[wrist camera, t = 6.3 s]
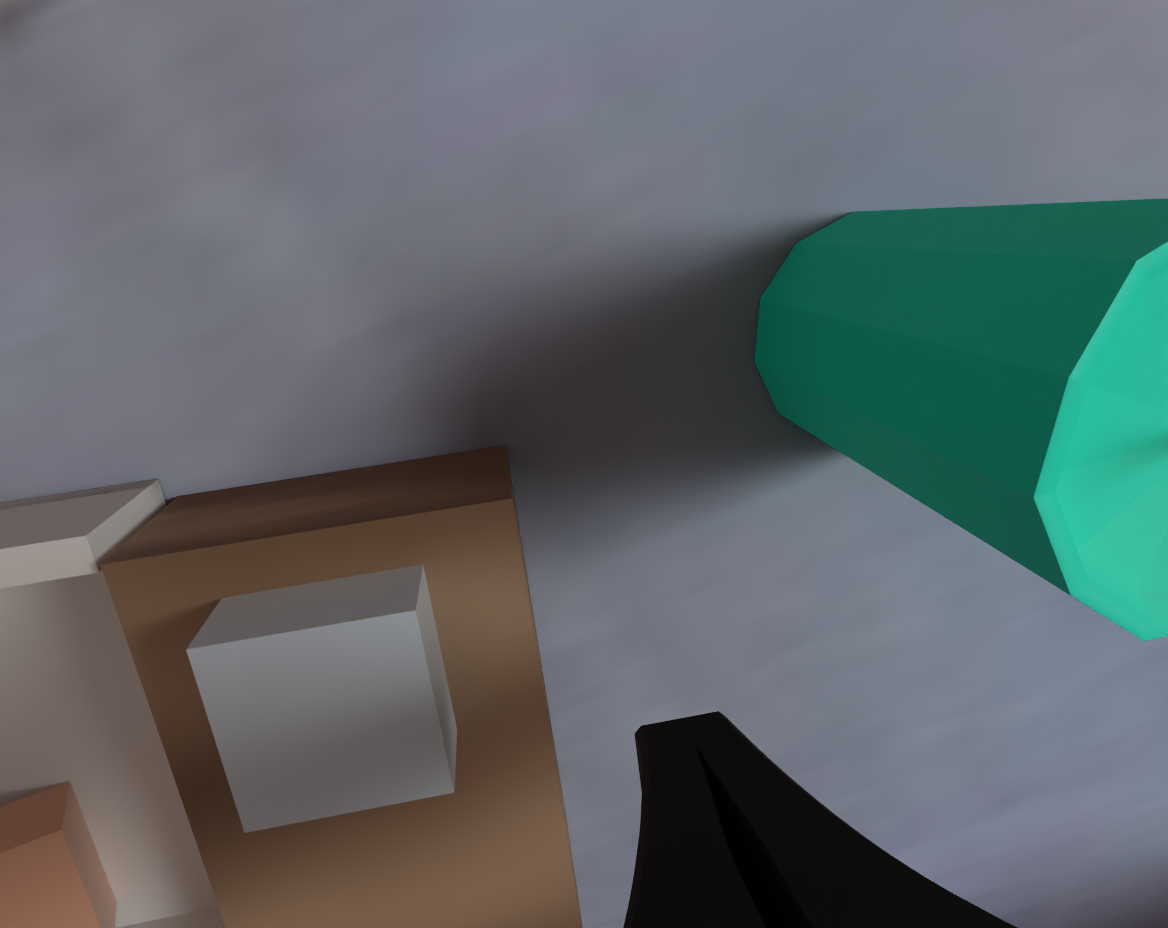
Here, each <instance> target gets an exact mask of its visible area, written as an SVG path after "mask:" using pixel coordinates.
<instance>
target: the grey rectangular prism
mask: <svg viewBox="0 0 1168 928" xmlns="http://www.w3.org/2000/svg"><path fill="white" fill-rule="evenodd" d="M186 651H187V654H188V657H189V660H190V663H191V667H192V670H193V673H194V676H195V679H196V682H197V685H198V689H199V692H200V695H201V698H202V701H203V704H204V707H205V710H206V714H207V717H208V720H209V723H210V726H211V729H212V732H213V736H214V739H215V742H216V745H217V748H218V751H219V754H220V757H221V761H222V764H223V767H224V770H225V773H226V776H227V779H228V783H229V786H230V789H231V792H232V795H233V798H234V801H235V804H236V808H237V811H238V814H239V817H240V820H241V823H242V826H243V829H244V833H247V832H252V831H257V830H263V829H268V828H273V827H278V826H283V825H289V824H294V823H299V822H304V821H309V820H315V819H320V818H325V817H330V816H335V815H341V814H346V813H351V812H356V811H361V810H367V809H372V808H377V807H382V806H387V805H393V804H398V803H403V802H408V801H413V800H419V799H424V798H429V797H434V796H439V795H445V794H450V793H454V790H455V767H456V744H457V727H456V722H455V717H454V712H453V707H452V702H451V697H450V693H449V688H448V683H447V678H446V673H445V668H444V663H443V659H442V654H441V649H440V644H439V639H438V634H437V629H436V624H435V620H434V615H433V610H432V605H431V600H430V595H429V590H428V586H427V581H426V576H425V571H424V566H423V565H417V566H411V567H405V568H399V569H393V570H387V571H381V572H375V573H369V574H363V575H357V576H351V577H345V578H339V579H333V580H327V581H321V582H315V583H309V584H303V585H297V586H291V587H285V588H279V589H273V590H267V591H261V592H255V593H249V594H243V595H237V596H231V597H225V598H222V599H221V600H220V602H219V603H218V604H217V606H216V607H215V609H214V610H213V612H212V613H211V614H210V616H209V617H208V619H207V620H206V622H205V623H204V625H203V626H202V627H201V629H200V630H199V632H198V633H197V635H196V636H195V638H194V639H193V640H192V642H191V643H190V645H189V646H188V648H187V649H186Z"/></svg>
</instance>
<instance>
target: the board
mask: <svg viewBox="0 0 1168 928" xmlns="http://www.w3.org/2000/svg"><path fill="white" fill-rule="evenodd" d="M417 565H423V566H424V571H425V576H426V581H427V586H428V590H429V595H430V600H431V605H432V610H433V615H434V620H435V624H436V629H437V634H438V639H439V644H440V649H441V654H442V659H443V663H444V668H445V673H446V678H447V683H448V688H449V693H450V697H451V702H452V707H453V712H454V717H455V722H456V727H457V744H456V767H455V790H454V793H450V794H445V795H439V796H434V797H429V798H424V799H419V800H413V801H408V802H403V803H398V804H393V805H387V806H382V807H377V808H372V809H367V810H361V811H356V812H351V813H346V814H341V815H335V816H330V817H325V818H320V819H315V820H309V821H304V822H299V823H294V824H289V825H283V826H278V827H273V828H268V829H263V830H257V831H252V832H247V833H244V829H243V826H242V823H241V820H240V817H239V814H238V811H237V808H236V804H235V801H234V798H233V795H232V792H231V789H230V786H229V783H228V779H227V776H226V773H225V770H224V767H223V764H222V761H221V757H220V754H219V751H218V748H217V745H216V742H215V739H214V736H213V732H212V729H211V726H210V723H209V720H208V717H207V714H206V710H205V707H204V704H203V701H202V698H201V695H200V692H199V689H198V685H197V682H196V679H195V676H194V673H193V670H192V667H191V663H190V660H189V657H188V654H187V651H186V649H187V648H188V646H189V645H190V643H191V642H192V640H193V639H194V638H195V636H196V635H197V633H198V632H199V630H200V629H201V627H202V626H203V625H204V623H205V622H206V620H207V619H208V617H209V616H210V614H211V613H212V612H213V610H214V609H215V607H216V606H217V604H218V603H219V602H220V600H221V599H222V598H225V597H231V596H237V595H243V594H249V593H255V592H261V591H267V590H273V589H279V588H285V587H291V586H297V585H303V584H309V583H315V582H321V581H327V580H333V579H339V578H345V577H351V576H357V575H363V574H369V573H375V572H381V571H387V570H393V569H399V568H405V567H411V566H417ZM101 567H102V570H103V573H104V576H105V579H106V582H107V585H108V588H109V591H110V594H111V596H112V599H113V602H114V605H115V608H116V611H117V614H118V617H119V620H120V623H121V625H122V628H123V631H124V634H125V637H126V640H127V643H128V646H129V649H130V652H131V655H132V657H133V660H134V663H135V666H136V669H137V672H138V675H139V678H140V681H141V684H142V686H143V689H144V692H145V695H146V698H147V701H148V704H149V707H150V710H151V713H152V715H153V718H154V721H155V724H156V727H157V730H158V733H159V736H160V739H161V742H162V745H163V747H164V750H165V753H166V756H167V759H168V762H169V765H170V768H171V771H172V774H173V776H174V779H175V782H176V785H177V788H178V791H179V794H180V797H181V800H182V803H183V806H184V808H185V811H186V814H187V817H188V820H189V823H190V826H191V829H192V832H193V835H194V837H195V840H196V843H197V846H198V849H199V852H200V855H201V858H202V861H203V864H204V866H205V869H206V872H207V875H208V878H209V881H210V884H211V887H212V890H213V893H214V896H215V898H216V901H217V904H218V907H219V910H220V913H221V916H222V919H223V922H224V925H225V927H226V928H582V921H581V914H580V908H579V901H578V894H577V887H576V881H575V874H574V867H573V860H572V854H571V847H570V840H569V833H568V827H567V821H566V814H565V808H564V802H563V796H562V790H561V783H560V777H559V771H558V765H557V759H556V753H555V746H554V740H553V734H552V728H551V722H550V715H549V709H548V703H547V697H546V691H545V684H544V678H543V672H542V666H541V660H540V653H539V647H538V641H537V635H536V629H535V622H534V616H533V610H532V604H531V598H530V591H529V585H528V579H527V573H526V567H525V561H524V554H523V548H522V542H521V536H520V530H519V523H518V517H517V511H516V505H515V499H514V492H513V486H512V480H511V474H510V468H509V461H508V455H507V449H506V446H500V447H494V448H488V449H481V450H475V451H468V452H462V453H455V454H449V455H442V456H436V457H429V458H423V459H417V460H410V461H404V462H397V463H391V464H384V465H378V466H371V467H365V468H358V469H352V470H346V471H339V472H333V473H326V474H320V475H313V476H307V477H300V478H294V479H287V480H281V481H275V482H268V483H262V484H255V485H249V486H242V487H236V488H229V489H223V490H216V491H210V492H204V493H197V494H191V495H184V496H178V497H176V498H175V499H174V500H173V501H172V502H170V503H169V504H168V505H167V506H166V507H165V508H164V509H163V510H161V511H160V512H159V513H158V514H157V515H156V516H155V517H154V518H152V519H151V520H150V521H149V522H148V523H147V524H146V525H145V526H143V527H142V528H141V529H140V530H139V531H138V532H137V533H136V534H134V535H133V536H132V537H131V538H130V539H129V540H128V541H127V542H126V543H124V544H123V545H122V546H121V547H120V548H119V549H118V550H117V551H115V552H114V553H113V554H112V555H111V556H110V557H109V558H108V559H106V560H105V561H104V562H103V563H102V564H101Z"/></svg>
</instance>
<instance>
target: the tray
mask: <svg viewBox="0 0 1168 928" xmlns="http://www.w3.org/2000/svg"><path fill="white" fill-rule="evenodd" d="M165 507H166V503H165V499H164V496H163V493H162V490H161V486H160V483H159V480H158V479H156V480H149V481H143V482H136V483H130V484H123V485H117V486H110V487H103V488H97V489H90V490H84V491H77V492H71V493H64V494H58V495H51V496H45V497H38V498H31V499H25V500H18V501H12V502H5V503H0V806H3V805H5V804H8V803H11V802H14V801H17V800H19V799H22V798H25V797H28V796H31V795H33V794H36V793H39V792H42V791H45V790H47V789H50V788H53V787H56V786H59V785H61V784H64V783H67V782H70V783H71V785H72V788H73V791H74V793H75V796H76V798H77V801H78V803H79V806H80V809H81V811H82V814H83V816H84V819H85V821H86V824H87V827H88V829H89V832H90V834H91V837H92V839H93V842H94V845H95V847H96V850H97V852H98V855H99V858H100V860H101V863H102V865H103V868H104V870H105V873H106V876H107V878H108V881H109V883H110V886H111V888H112V891H113V894H114V896H115V899H116V901H117V908H116V922H115V928H226V927H225V925H224V922H223V919H222V916H221V913H220V910H219V907H218V904H217V901H216V898H215V896H214V893H213V890H212V887H211V884H210V881H209V878H208V875H207V872H206V869H205V866H204V864H203V861H202V858H201V855H200V852H199V849H198V846H197V843H196V840H195V837H194V835H193V832H192V829H191V826H190V823H189V820H188V817H187V814H186V811H185V808H184V806H183V803H182V800H181V797H180V794H179V791H178V788H177V785H176V782H175V779H174V776H173V774H172V771H171V768H170V765H169V762H168V759H167V756H166V753H165V750H164V747H163V745H162V742H161V739H160V736H159V733H158V730H157V727H156V724H155V721H154V718H153V715H152V713H151V710H150V707H149V704H148V701H147V698H146V695H145V692H144V689H143V686H142V684H141V681H140V678H139V675H138V672H137V669H136V666H135V663H134V660H133V657H132V655H131V652H130V649H129V646H128V643H127V640H126V637H125V634H124V631H123V628H122V625H121V623H120V620H119V617H118V614H117V611H116V608H115V605H114V602H113V599H112V596H111V594H110V591H109V588H108V585H107V582H106V579H105V576H104V573H103V570H102V567H101V564H102V563H103V562H104V561H105V560H106V559H108V558H109V557H110V556H111V555H112V554H113V553H114V552H115V551H117V550H118V549H119V548H120V547H121V546H122V545H123V544H124V543H126V542H127V541H128V540H129V539H130V538H131V537H132V536H133V535H134V534H136V533H137V532H138V531H139V530H140V529H141V528H142V527H143V526H145V525H146V524H147V523H148V522H149V521H150V520H151V519H152V518H154V517H155V516H156V515H157V514H158V513H159V512H160V511H161V510H163V509H164V508H165Z"/></svg>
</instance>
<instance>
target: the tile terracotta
mask: <svg viewBox="0 0 1168 928" xmlns="http://www.w3.org/2000/svg"><path fill="white" fill-rule="evenodd" d="M116 908H117V901H116V899H115V896H114V894H113V891H112V888H111V886H110V883H109V881H108V878H107V876H106V873H105V870H104V868H103V865H102V863H101V860H100V858H99V855H98V852H97V850H96V847H95V845H94V842H93V839H92V837H91V834H90V832H89V829H88V827H87V824H86V821H85V819H84V816H83V814H82V811H81V809H80V806H79V803H78V801H77V798H76V796H75V793H74V791H73V788H72V785H71V783H70V782H67V783H64V784H61V785H59V786H56V787H53V788H50V789H47V790H45V791H42V792H39V793H36V794H33V795H31V796H28V797H25V798H22V799H19V800H17V801H14V802H11V803H8V804H5V805H3V806H0V928H115V922H116Z"/></svg>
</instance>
